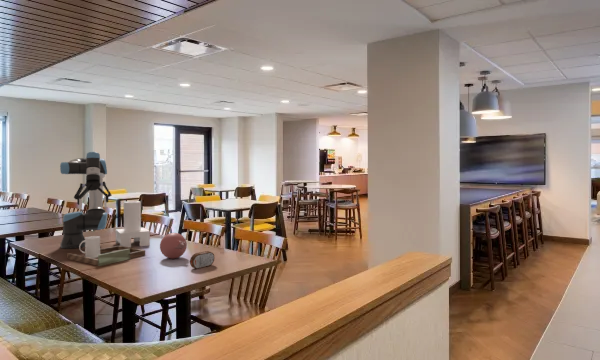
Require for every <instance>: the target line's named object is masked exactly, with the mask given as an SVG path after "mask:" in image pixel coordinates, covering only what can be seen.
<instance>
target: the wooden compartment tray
mask: <svg viewBox="0 0 600 360" xmlns="http://www.w3.org/2000/svg"><path fill="white" fill-rule="evenodd" d="M66 254H67V256H66V258H67V260H71V261H76V262H81V263H85V264H90V265H94V266H99V267H102V266H107V265H110V264H115V263H118V262H119V263H120V262H123V261H127V260H130V259H134V258H139V257H143V256H146V250H145V249H139V248H134V247H124V246H120V245H115V246H110V247H104V248H101V247H100V255H98V257H97V258H90V257H85V255H80V254H76V253H70V252H69V253H66Z"/></svg>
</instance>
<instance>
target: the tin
mask: <svg viewBox="0 0 600 360" xmlns="http://www.w3.org/2000/svg"><path fill="white" fill-rule="evenodd" d="M214 262H215V254H214V253H213V252H212V251H210V250H207V251H200V252H195V253H194V254H192V256H191V257H190V259H189V264H190V265H189V266H190V267H192V268H193V269H198V268H199V269H201V268H202V267H203V268H207V267H206V266H208V267H210V266H212V265H213V263H214ZM203 268H202V269H203Z"/></svg>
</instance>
